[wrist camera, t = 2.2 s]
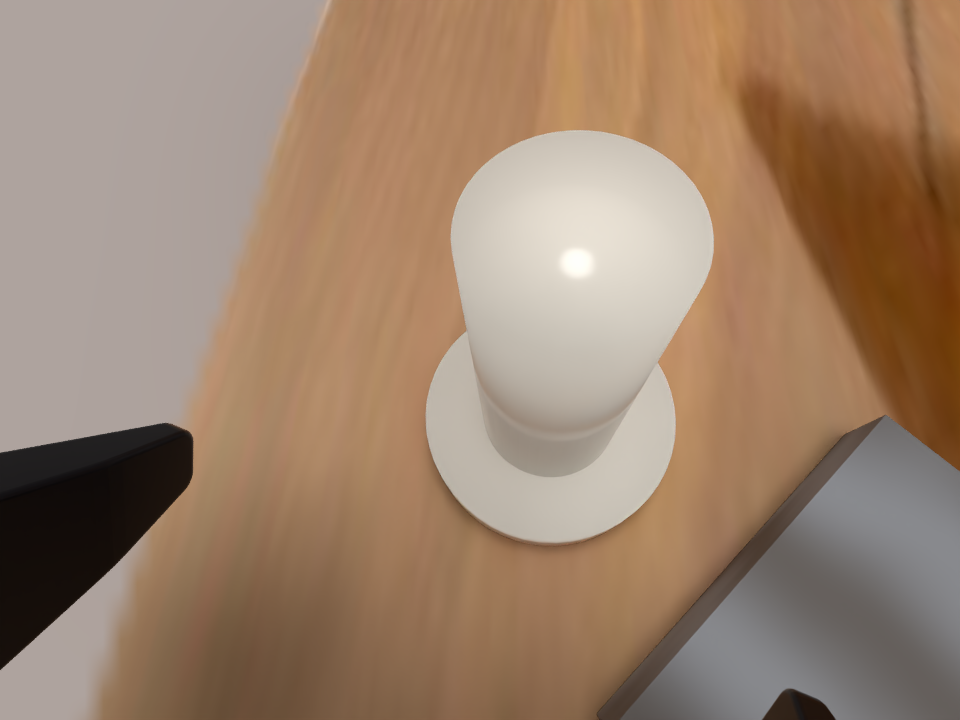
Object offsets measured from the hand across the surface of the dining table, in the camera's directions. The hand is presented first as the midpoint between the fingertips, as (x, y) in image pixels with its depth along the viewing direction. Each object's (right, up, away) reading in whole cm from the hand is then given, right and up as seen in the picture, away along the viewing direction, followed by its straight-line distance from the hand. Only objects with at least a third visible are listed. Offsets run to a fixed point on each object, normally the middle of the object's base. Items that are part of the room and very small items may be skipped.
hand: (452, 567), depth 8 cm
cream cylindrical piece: (+3, 0, +13) cm, 14 cm away
